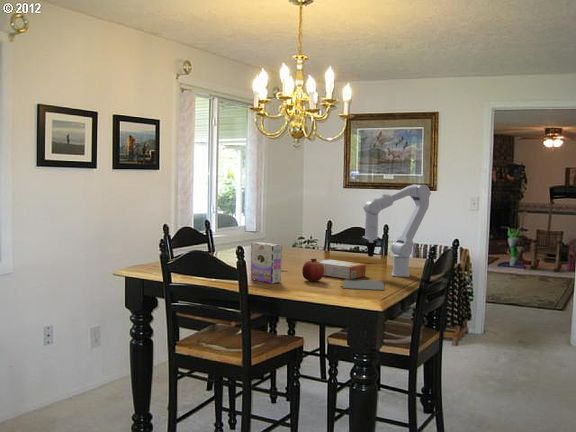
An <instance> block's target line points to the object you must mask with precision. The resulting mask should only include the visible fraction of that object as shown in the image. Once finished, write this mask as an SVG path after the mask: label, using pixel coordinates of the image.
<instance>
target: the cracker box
mask: <svg viewBox="0 0 576 432" xmlns="http://www.w3.org/2000/svg"><path fill="white" fill-rule="evenodd" d="M317 261H318V262H320V263H321V264H322V265H323V266H324V275H323V276H328V277H334V278H340V279H344V280H345V279H351V280H354V279H357V278H361V277H362V278H363V277H365V276H366V268H367V264H365V263H358V262H350V261H343V260H336V259H322V260H317Z"/></svg>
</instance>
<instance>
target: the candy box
mask: <svg viewBox="0 0 576 432" xmlns="http://www.w3.org/2000/svg"><path fill="white" fill-rule="evenodd" d="M250 246H251V250H250V251H251V252H250V253H251V254H250V255H251V256H250V257H251V258H250V261H251V262H250V280H251V279H255V280H254V281H256V280H258V281H257V282H260V281H262V282H261V283H265V282H266V283H267V284H270V285H272V284H281V283H282V253H283V251H282V250H283V248H282V247H283V245H282V244H276V243H269V242H264V241H263V242H262V241H258V242H257V241H256V242H251V245H250Z"/></svg>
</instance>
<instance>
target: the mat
mask: <svg viewBox="0 0 576 432" xmlns="http://www.w3.org/2000/svg"><path fill="white" fill-rule="evenodd" d="M384 286H385V284H384V281H383V280H370V279H368V280H365V279H345V278H344V280H343V284H342V289H343V290H344V289H345V290H359V291H360V290H361V291H362V290H365V291H380V292H382V291H383V292H384V291H385V287H384Z"/></svg>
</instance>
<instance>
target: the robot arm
mask: <svg viewBox="0 0 576 432" xmlns="http://www.w3.org/2000/svg"><path fill="white" fill-rule="evenodd" d="M431 194H432V193H431V190H430V188H429V186H428V185H426V184H416V183H415V184H413V183H412V184H411V185H407V186H406V187H404V188H402V189H400V190H397V191H395V192H393V194H387V193H383V194H381V196H379V197H377V198H373V200H372V201H371V200H369V201H367V202H366V203H365V204H364V206H363V211H364V212H365V223H364V224H365V229H364V230H365V233H364V235H363V236H362V239H366V240H364V243H365V245H366V249H367V256H368V257H370V258H371V257H372V258H373V257H374V254H375V249H376V247H377V244H378V239H379V237H378V236H379V213H380V212H381V211H383V210H384V209H387V208H389V207H391V206H393V204H394V202H396V201H398V200H401V199H403V198H406V197H411V199H412V201H414V204H415V207H414V210H413V211H412V213H411V216H410V218H409V219H408V222H407V224H406V226H405V228H404V229H403V231H402V234H401V235H399V237H397V239H396V240H395V241H394V242H393V243H392V245H391V248H390V249H391V252H392V254H393V260H392V261H393V262H392V271H391V277H402V278H410V273H409V271H410V270H409V269H410V268H409V266H410V256H411V254H412V253H413V247H414V245H415V244H414V241H413V239H414V237H415V235H416V233H417V231H418V229H419V227H420V226H421V224H422V221H423V219H424V218H425V215H426V213H427V211H428V209H429V205H430V196H431Z"/></svg>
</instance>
